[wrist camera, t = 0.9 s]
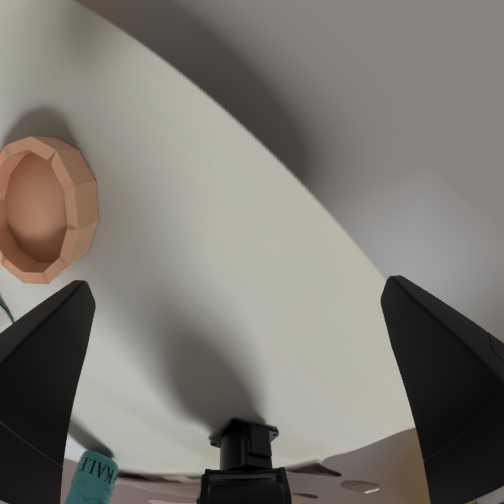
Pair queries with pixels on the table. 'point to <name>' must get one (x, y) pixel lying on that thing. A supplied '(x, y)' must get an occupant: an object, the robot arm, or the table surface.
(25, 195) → the bowl
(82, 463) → the beverage bottle
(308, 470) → the table surface
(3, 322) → the can
